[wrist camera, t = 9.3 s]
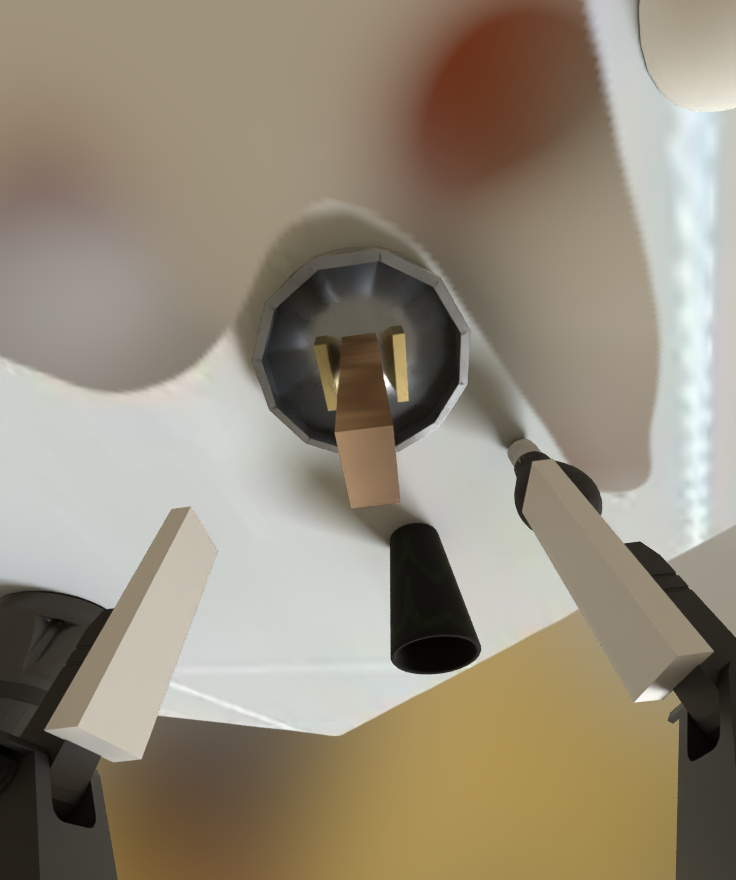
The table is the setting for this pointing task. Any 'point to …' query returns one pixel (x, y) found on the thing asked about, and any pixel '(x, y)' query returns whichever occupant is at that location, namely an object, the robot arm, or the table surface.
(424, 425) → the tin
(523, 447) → the light bulb
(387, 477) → the tapered wood plank
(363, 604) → the table surface
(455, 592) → the cup
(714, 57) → the cup
